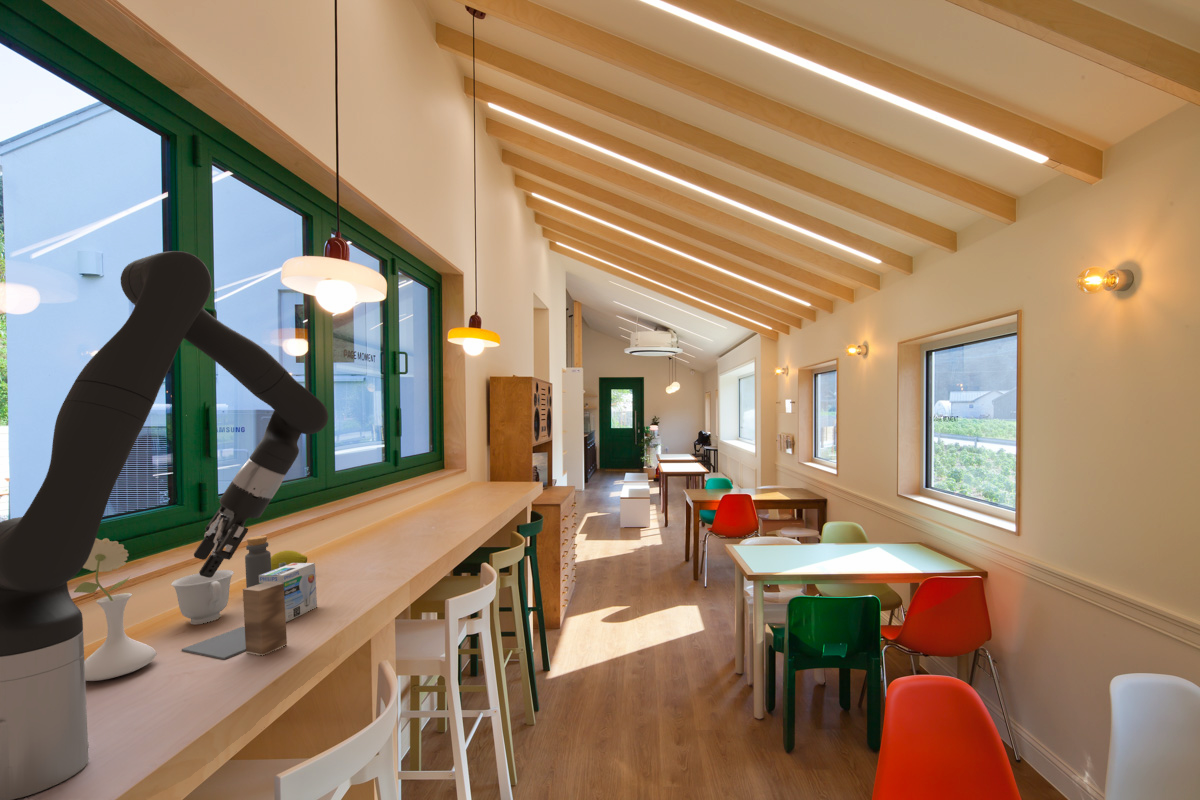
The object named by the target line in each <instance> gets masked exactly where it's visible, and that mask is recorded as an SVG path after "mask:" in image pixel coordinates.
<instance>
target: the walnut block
mask: <svg viewBox="0 0 1200 800" xmlns="http://www.w3.org/2000/svg"><path fill="white" fill-rule="evenodd" d="M242 598H243V619H244V622H243V623H244V627H245V642H246V651H245V653H246V654H251V655H255V654H256V656H260V655H262V656H261V657H263V655H264V656H266V655H268V654H270V653H269V652H271V651H273V652H275V651H277V650H276V649H278V650H280V649H282V648H284V647H283V646H285V645H287V646H288V640H287V639H288V637H287V636H288V635H287V622H286V616H285V597H284V583H277V582H264V583H261V584H258V585H255V586H252V587H248V588H247V587H246V588H243V589H242ZM281 647H282V648H281ZM285 647H286V646H285ZM279 648H280V649H279ZM274 650H275V651H274ZM267 653H268V654H267ZM271 653H272V652H271ZM265 654H266V655H265Z"/></svg>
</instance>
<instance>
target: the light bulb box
mask: <svg viewBox="0 0 1200 800" xmlns="http://www.w3.org/2000/svg"><path fill="white" fill-rule="evenodd" d="M264 582H277V583H284V597H285V616H286V623H288V622H290V621H291V620H293V619H296V618H298V617H300V616H302V615H304V614H306V613H308V611H309V612H310V610H311V611H312V609H313V610H314V608H315V609H317V608H318V599H317V581H316V563H315V562H307V563H291V564H289V565H286V566H283V567H281V568H278V569H275V570H272V571H270V572H267V573H264V574H262V575H259V584H261V583H264ZM316 607H317V608H316Z"/></svg>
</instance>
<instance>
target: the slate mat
mask: <svg viewBox="0 0 1200 800" xmlns="http://www.w3.org/2000/svg"><path fill="white" fill-rule="evenodd" d="M181 652H183V653H184V652H185V653H188V654H193V655H200V656H205V657H209V658H213V659H219V660H224V661H225V660H227V659H229V658H232V657H235V656H237V655H239V654H242V653H246V642H245V626H241V627H240V626H239V627H237V628H235V629H232V630H229V631H226V632H224V633H221V634H219V635H216V636H213V637H211V638H207V639H205V640H202V641H200V642H196V643H194V644H192V645H189V646H186V647H183V648H181Z"/></svg>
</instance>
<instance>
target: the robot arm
mask: <svg viewBox="0 0 1200 800" xmlns="http://www.w3.org/2000/svg"><path fill="white" fill-rule="evenodd" d="M212 284H213V283H212V276H211V273H210V271H209V269H208V267H207V265H206V264H205V263H204V262H203V260H202V259H201V258H199V257H197V256H196V255H194V254H192V253H189V252H187V251H181V250H180V251H179V250H171V251H170V250H169V251H163V252H159V253H154V254H151V255H149V256H145V257H142V258H139V259H136V260H134V261H131V262H130V263H128V264H127V265H126V266H125V267H124V269H122V271H121V274H120V286H121V289H122V291H123V293H124V295H125V297H126V298H127V300H129V302H131V303H132V305H134V308H133V310H132V312H131V313H130V315H129V317H128V318H127V320H126V321H125V323H124V324H123V325H122V326H121V328H120V329H119V330H118V331H117V332H116V333H115V334H114V335H113V336H112V337H111V338H110V339H109V340H108V341H107V342H106V343H105V344H104V345H103V346H102V347H100V349H99V350H98V351H97V352H96V353H95V354H94V355H93V356H92V357H91V358H90V360H89V361H88V362H87V363H86V364H85V365H84V367H83V369H81V371H80V372H79V374H78V375H77V377H76V378H75V381H74V383H72V386H71V387H70V389H69V391H68V393H67V395H66V396H65V399H64V400H63V402H62V404H61V407H60V409H59V411H58V413H57V416H56V420H55V423H54V430H53V437H52V446H51V455H50V462H49V467H48V469H47V473H46V475H45V477H44V481H43V482H42V484H41V486H40V488H39V489H38V491H37V493H36V495H35V497H34V498H33V500H32V502H31V503H30V505H29V507H28V508H27V510H26V511H25V513H24V514H23V515H22V516H20V517H14V518H13V517H12V518H9V519H6V520H3V521H0V800H16V799H20V798H24V797H27V796H30V795H34V794H38V793H40V792H42V791H45V790H48V789H49V788H51V787H54V786H56V785H59V784H60V783H62V782H64V781H66V780H68V779H70V778H72V777H73V776H75V775H76V774H77V773H79V772H80V771H81V770H83V769H84V768H85V766H87V764H88V763H89V759H90V758H89V748H90V747H89V746H90V744H89V734H88V712H87V711H88V710H87V689H86V687H87V686H86V681H85V662H84V661H85V643H84V642H85V641H84V639H85V638H84V621H83V620H84V619H83V613H82V611H81V609H80V608H79V607H78V606H77V605H76V603H75V602H74V601H73V598H72V597H71V595H70V592H69V589H68V588H69V587H68V582H69V581H71V580H72V579H73V578H74V577H76V575H77V574H79V572H80V571H81V570H82V569H83V566H84V564H85V563H86V561H87V560H88V558H89V555H90V553H91V551H92V548H93V545H94V542H95V539H96V538H97V536H98V533H99V529H100V527H101V523H102V520H103V517H104V513H105V511H106V507H107V505H108V503H109V500H110V497H111V494H112V491H113V489H114V486H115V484H116V483H117V480H118V478H119V476H120V475H121V472H122V470H123V469H124V466H125V465H126V462H127V460H128V458H129V456H130V454H131V451H132V449H133V448H134V446H135V443H136V441H137V439H138V437H139V435H140V433H141V431H142V430H143V427H144V426H145V423H146V421H147V419H148V417H149V414H150V413H151V410H152V408H153V407H154V405H155V402H156V399H157V397H158V394H159V392H160V389H161V388H162V385H163V383H164V381H165V378H166V376H167V375H168V373H169V371H170V368H171V366H172V364H173V362H174V359H175V357H176V354H177V352H178V350H179V348H180V346H181V344H182V341H183V340H186V341H187V342H189V343H190V344H191V345H193V347H194V346H195V348H197V349H198V350H200V351H201V352H203V353H204V355H206V356H208V357H210V358H211V359H212V360H213V361H214V362H215V363H216V364H218V365H220V367H222V368H223V369H224V370H226V371H227V373H229V374H230V375H231V376H233V378H235V380H237V381H238V382H239V383H240V384H241V385H242V386H243V387H245V389H247V390H248V391H249V392H250V393H252V395H253V396H255V397H256V398H257V399H259V400H261V401H262V402H264V403H265V404H267V405H268V406H270V407H271V408H272V409H273V411H272V414H271V416H270V418H269V421H268V423H267V426H266V428H265V431H264V433H263V437H262V439H261V440H260V441H259V443H258V444H257V445H256V448H255V449H254V450H253V452H252V453H251V454H250V456H249V458H248V459H247V460H246V462H245V463H244V464H243V465H242V466H241V468H240V469H239V470H238V472H237V473H236V474H235V476H234V477H233V478H232V481H231V482H230V483H229V484H228V487H227V488H226V490H224V492H223V494H222V495H221V497H220V499H219V504H220V507H219V508H218V509H217V511H216V512H215V514H214V515H213V517H211V519H210V521H209V523H208V524H207V525H206V526H205V528H204V531H205V532H204V536H203V539H202V541H201V542H200V544H199V545H198V546H197V548H196V549H195V551H194V553H193V557H194V558H195V559H199V560H202V561H203V560H205V562H204V563H203V565H202V566H201V568H200V569H199V571H198V573H200V575H201V576H204V577H208V578H211V577H212V576H213V575H214V574H215V572H216V571H217V570H219V568H220V566H221V564H222V563H223V561H224V560H228V561H230V560H231V559H232V558H233V555H234V554H235V553H236V551H237V549H238V548H239V546H240V545H241V543H242V541H243V539H244V538H245V536H246V534H247V533H248V532H249V528H247V527H245V524H246V522H247V519H259V518H260V517H261V516H262V515H263V513H264V511H266V508H267V507H268V505H269V504H270V502H271V501H272V499H273V497H274V496H275V495H276V493H277V492H278V491H279V488H280V487H281V485H282V483H283V481H284V479H285V477H286V475H287V474H288V472H289V470H290V469H291V467H292V465H294V463H295V461H296V459H297V458H298V456H299V453H300V449H299V446H298V442H299V439H300V437H301V435H302V434H304V435H313V434H317V433H319V432H321V431H322V430H323V429H324V428H325V427H326V425H327V423H328V420H329V412H328V409H327V407H326V406H325V404H324V403H323V402H322V401H321V400H320V399H319V398H317V397H316V396H315V395H314V394H313V393H312V392H311V391H309V390H308V388H306V387H304V386H303V385H302V384H301V383H299V382H298V381H297V380H296V379H295V378H294V377H293V376H292V375H291V374H290V372H289V371H287V369H286V368H285V367H284V366H283V365H281V364H280V362H279V361H278V360H277V359H276V358H275V357H273V355H272V354H270V353H269V352H268V351H267V350H266V349H265V348H263V346H261V345H260V344H258V343H256V342H255V341H253V340H251V339H250V338H248V337H246V336H244V335H243V334H241V333H239V332H238V331H236V330H233V328H231V327H230V326H227V325H225V324H224V323H223V322H221V321H220V320H218V319H217V318H215V317H214V316H213V315H212V314H210V313H209V312H208V311H207V310H206V309H205V308H204V306H205V305H206V303H207V302H208V300H209V298H210V295H211V291H212V286H213V285H212Z"/></svg>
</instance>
